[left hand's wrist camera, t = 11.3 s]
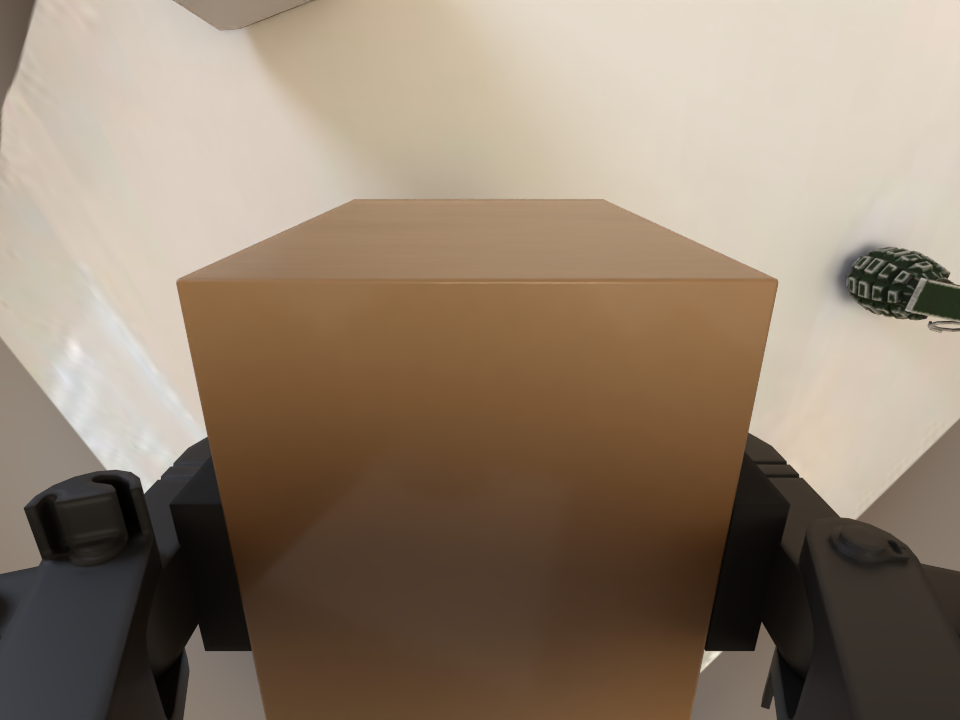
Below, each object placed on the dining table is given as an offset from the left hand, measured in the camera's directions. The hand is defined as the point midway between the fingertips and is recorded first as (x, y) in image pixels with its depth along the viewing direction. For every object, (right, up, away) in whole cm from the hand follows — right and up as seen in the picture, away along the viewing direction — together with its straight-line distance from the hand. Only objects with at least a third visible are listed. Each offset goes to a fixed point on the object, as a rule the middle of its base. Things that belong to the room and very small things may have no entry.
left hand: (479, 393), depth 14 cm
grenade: (+36, +9, +36) cm, 52 cm away
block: (0, +1, +3) cm, 3 cm away
